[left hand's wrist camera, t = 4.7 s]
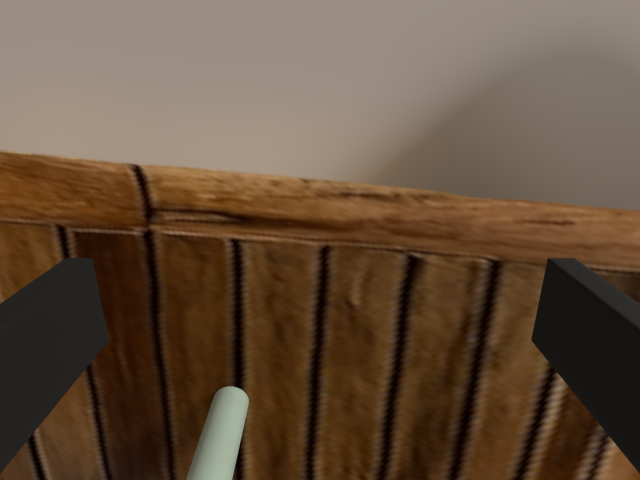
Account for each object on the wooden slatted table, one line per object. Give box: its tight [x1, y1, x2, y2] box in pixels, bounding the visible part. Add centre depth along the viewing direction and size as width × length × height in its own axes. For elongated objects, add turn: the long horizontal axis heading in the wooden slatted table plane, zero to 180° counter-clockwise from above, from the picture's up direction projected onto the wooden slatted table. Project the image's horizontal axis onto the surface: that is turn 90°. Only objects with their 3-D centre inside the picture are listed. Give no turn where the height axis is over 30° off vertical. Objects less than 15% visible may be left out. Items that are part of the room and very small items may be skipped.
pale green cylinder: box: [186, 386, 249, 480], centre depth 40 cm, size 4×4×17 cm
